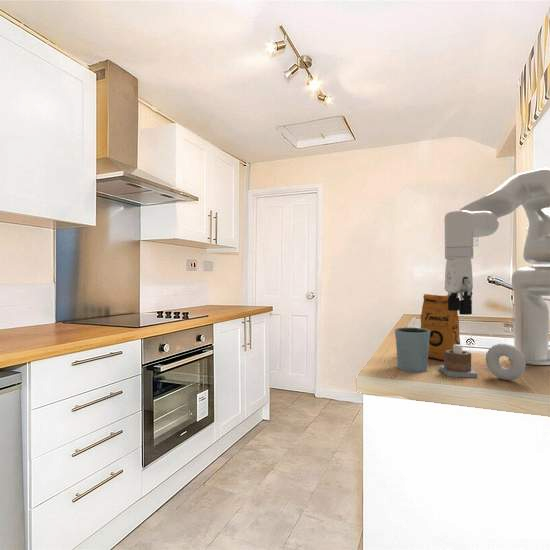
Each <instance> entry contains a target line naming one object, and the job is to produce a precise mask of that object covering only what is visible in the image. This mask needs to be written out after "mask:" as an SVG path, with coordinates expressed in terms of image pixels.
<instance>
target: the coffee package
mask: <svg viewBox="0 0 550 550" xmlns="http://www.w3.org/2000/svg"><path fill="white" fill-rule="evenodd" d="M422 298H423V303H422V305H421V306H422V309H421V313H420V328H422V329H427V330H430V339H429V351H428V359H429V358H430V359H434V360H439V361H444V351H445V350H453V345H461V339H460V338H461V337H460V320H459V319H460V318H459V314H458V313H459V311H449V310H448V294H447V295H438V294H437V295H436V294H426V293H423V297H422Z"/></svg>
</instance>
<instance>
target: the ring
mask: <svg viewBox="0 0 550 550" xmlns="http://www.w3.org/2000/svg"><path fill="white" fill-rule="evenodd" d="M443 366H444V368H445V369H447V370H451V371H455V372H468V371H471V369H472V353H471V352H470V351H466V350H462V354H457V353H453V350H445V351H444V360H443Z"/></svg>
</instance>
